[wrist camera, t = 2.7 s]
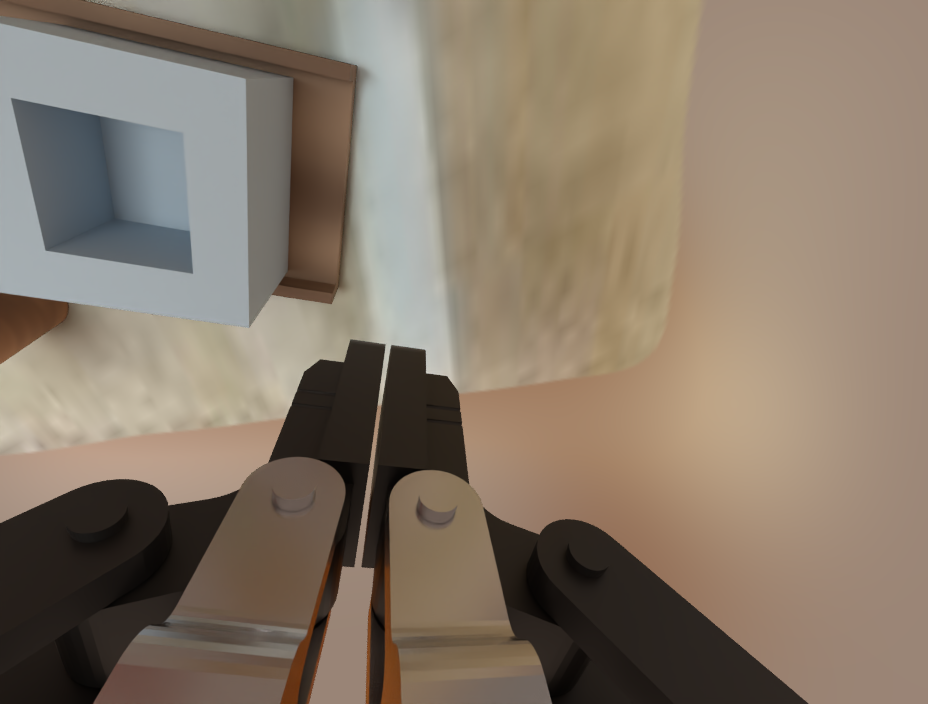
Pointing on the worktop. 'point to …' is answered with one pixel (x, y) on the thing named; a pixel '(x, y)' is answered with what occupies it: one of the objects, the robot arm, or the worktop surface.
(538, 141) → the worktop surface
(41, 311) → the dowel
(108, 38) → the grey square collar
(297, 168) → the track
